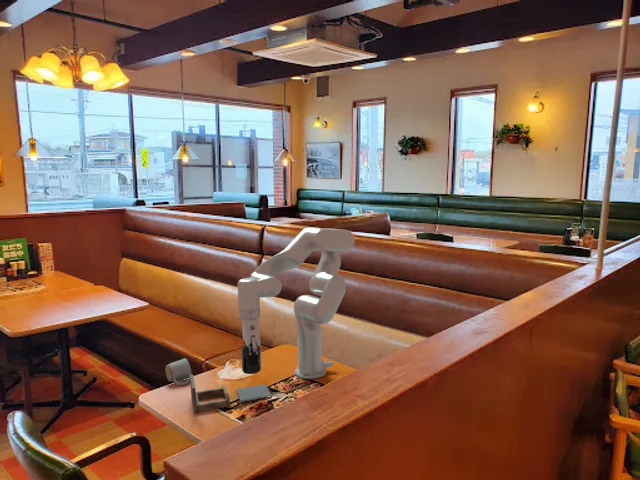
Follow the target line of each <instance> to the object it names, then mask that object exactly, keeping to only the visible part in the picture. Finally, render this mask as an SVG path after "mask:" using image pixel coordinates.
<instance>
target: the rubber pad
mask: <svg viewBox="0 0 640 480" xmlns="http://www.w3.org/2000/svg"><path fill="white" fill-rule="evenodd" d="M235 392H236V395H237V397H238V399H239V402H240V403H241V402H243V403H246V402H245V401H249V400H254V401H256V400H255V399H260V398H264V397H267V396H271V397H272V394H271V392H270V390H269V388H268V386H267V385H266V384H265V383H264V384H258V385H252V386H246V387H239V388H236V389H235ZM260 400H261V399H260ZM249 402H250V401H249Z"/></svg>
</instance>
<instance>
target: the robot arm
mask: <svg viewBox="0 0 640 480" xmlns="http://www.w3.org/2000/svg"><path fill="white" fill-rule="evenodd" d="M355 239H356V238H355V236H354V234H353V233H352V231H350V230H348V229H341V228H340V229H339V228H323V227H305V228H304V229H302V230H301V231H300V233H298V234H297V235H296V236H295V237H294V239H293V240H291V242H290V243H289V244H288V245H287V246H286V247H284V249H283V250H281V251H280V252H279V253H276V254H275V255H273V256H271V257H269V258H268V259H266V260H265V261H263V262H261V263H260V264H259V265H258V266H257V268H256V269H255V270H254V271H253V272H252V273H251V274H250V276H249V277H244V278H241V279H239V280H238V281H237V305H238V319H240V320H241V328H242V331H241V332H242V340H243V341H244V340H245V344H246V346H247V347H248V348H249V355H248V358H249V366H253V365H258V354H257V345H258V346H260V347H261V345H262V344H261V342H262V341H261V334H260V333H261V330H260V322H259V318H261V301H260V298H273V297H276V296H278V295H279V294H280V293H281V291H282V288H283V287H282V282H281V280H280V279H279V278H278V277H276V276H277V275H278V274H280V273H283V272H285V271H290V270H293V269H296V268H297V269H298V268H299V267H300V266H301V265H302V264H303V263H304V262H305V260H306V259H307V258H308V257H309V256H311V254H312V253H313V252H314V251H320V252H321V253H320V254H321V255H320V256H321V257H320V260H319V262H318V265H317V266H316V268H315V270H314V272H313V274H312V276H311V278H310V280H309V283H308V288H309V291H310V292H311V293H313V294H314V295H310V294H303V295H300V296H298V297H297V298H296V300H295V301H294V304H293V311H294V312H293V313H294V316H295V317H294V318H295V321H296V335H297V341H296V342H297V362H298V363H297V367H296V368H295V370H294V375H295V376H296V377H297V378H300V379H304V380H305V379H306V380H313V379H315V380H316V379H319V378H323V376H325V375H326V374H327V367H329V368H330V367H334V366H335V362H334V361H329V360H323V354H322V352H323V349H322V327H321V325H327V324H329V323H330V322H331V321H332V320H333V318H334V317H335V314H336V313H337V311H338V308H339V306H340V304H341V303H342V300H343V298H344V296H345V293H346V290H347V289H346V288H347V284H346V280H345V279H344V277H343V276H341V275H340V274H338V273H339V270H340V268H341V264H342V260H341V255H340V252H348V251H350V250H351V249H352V248H353V247H354V246H355ZM315 295H317V296H315ZM318 296H320V297H318ZM250 344H252V346H250ZM256 344H257V345H256ZM251 348H252V349H251Z"/></svg>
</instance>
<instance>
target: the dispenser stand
mask: <svg viewBox="0 0 640 480" xmlns="http://www.w3.org/2000/svg"><path fill="white" fill-rule="evenodd" d="M189 384H190V394H191V396H190V397H191V398H190V399H191V404H192V409H193V410H192V411H193V414H194V415H197V414H199V413H204V412H209V411H215V410H219V409H218V408H221V409H225V408H224V407H226V408H230V407H231V405H230V403H231V402H230V400H231V399H230V395H229V392H228V389H227V387H226V384H224V383H222V385H221V387H217V388H211V389H206V390H200V391H196V385H195V379H194V374H193V373H191V375H190V381H189ZM220 396H222V397H223V399H219V400H216V401H215V400H213V401H209V402H204V403H203V402H202V403H200V402H199V401H200V400H202V399H203V400H204V399H208V398H209V399H210V398H213V397H220ZM229 406H230V407H229Z"/></svg>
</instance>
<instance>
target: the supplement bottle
mask: <svg viewBox="0 0 640 480" xmlns="http://www.w3.org/2000/svg"><path fill="white" fill-rule="evenodd" d="M256 345H257V344H256ZM250 346H252V344H250ZM251 349H252V348H251ZM257 354H258V365H253V366H249V358H248V355H249V348H248V347H247V346H246V344H245V340H243V346H242V347H241V371H242V373H244V374H247V375H255V374H258V373H260V372H261V370H262V353H261V345H260V346H258V345H257Z"/></svg>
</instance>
